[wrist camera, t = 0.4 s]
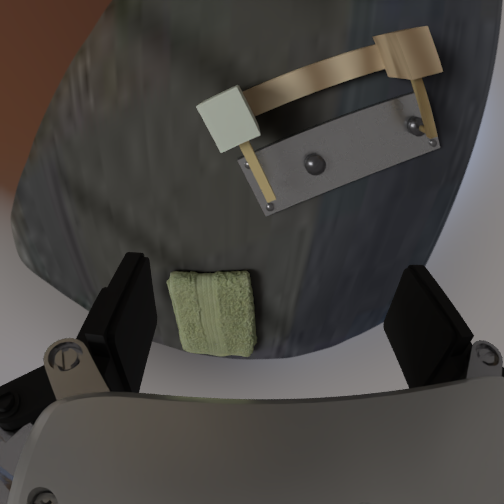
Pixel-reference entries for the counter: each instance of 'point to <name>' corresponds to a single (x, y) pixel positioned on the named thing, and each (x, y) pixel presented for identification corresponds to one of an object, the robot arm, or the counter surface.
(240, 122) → the block
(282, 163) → the bolt plate
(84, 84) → the counter surface
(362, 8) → the counter surface
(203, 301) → the washcloth
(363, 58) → the rail
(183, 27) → the counter surface
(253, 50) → the counter surface
